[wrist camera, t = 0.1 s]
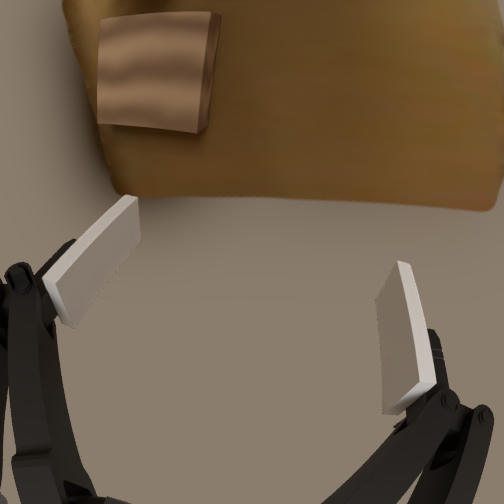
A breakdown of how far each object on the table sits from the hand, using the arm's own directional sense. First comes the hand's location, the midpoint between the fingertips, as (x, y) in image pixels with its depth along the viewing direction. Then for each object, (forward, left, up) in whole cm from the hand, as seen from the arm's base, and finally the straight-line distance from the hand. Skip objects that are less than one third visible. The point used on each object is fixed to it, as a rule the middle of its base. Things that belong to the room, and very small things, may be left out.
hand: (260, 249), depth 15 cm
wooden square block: (-5, -20, -28) cm, 35 cm away
